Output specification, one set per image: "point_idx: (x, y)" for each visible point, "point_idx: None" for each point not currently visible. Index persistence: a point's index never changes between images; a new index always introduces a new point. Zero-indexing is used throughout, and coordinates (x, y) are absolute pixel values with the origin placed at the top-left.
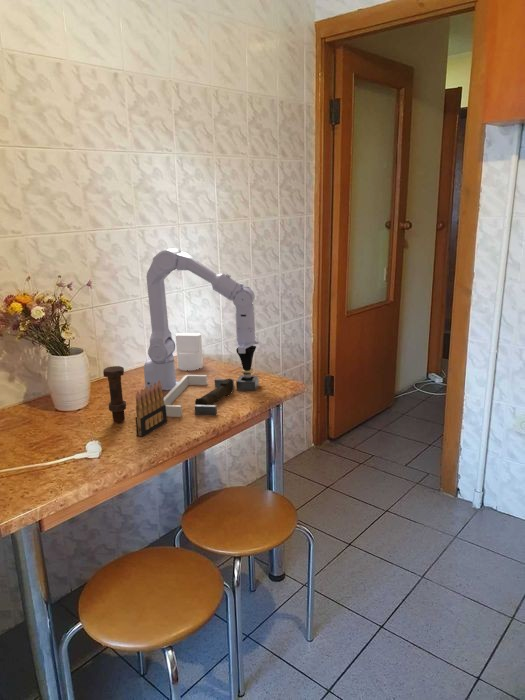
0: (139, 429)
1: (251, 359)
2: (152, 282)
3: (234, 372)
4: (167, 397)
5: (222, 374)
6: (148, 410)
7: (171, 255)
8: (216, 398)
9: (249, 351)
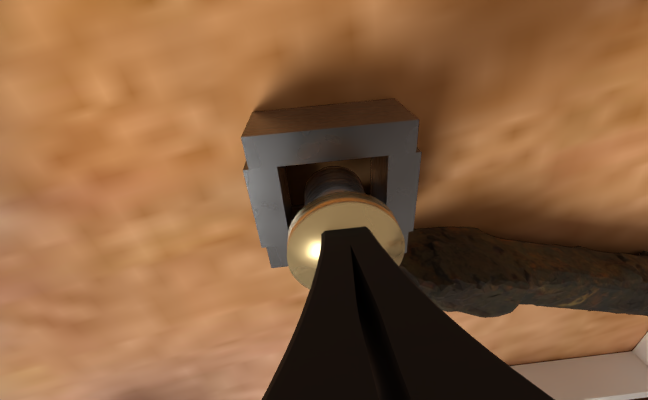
0: None
1: (428, 318)
2: None
3: (80, 309)
4: (594, 398)
5: (147, 341)
6: None
7: None
8: (608, 259)
9: None
